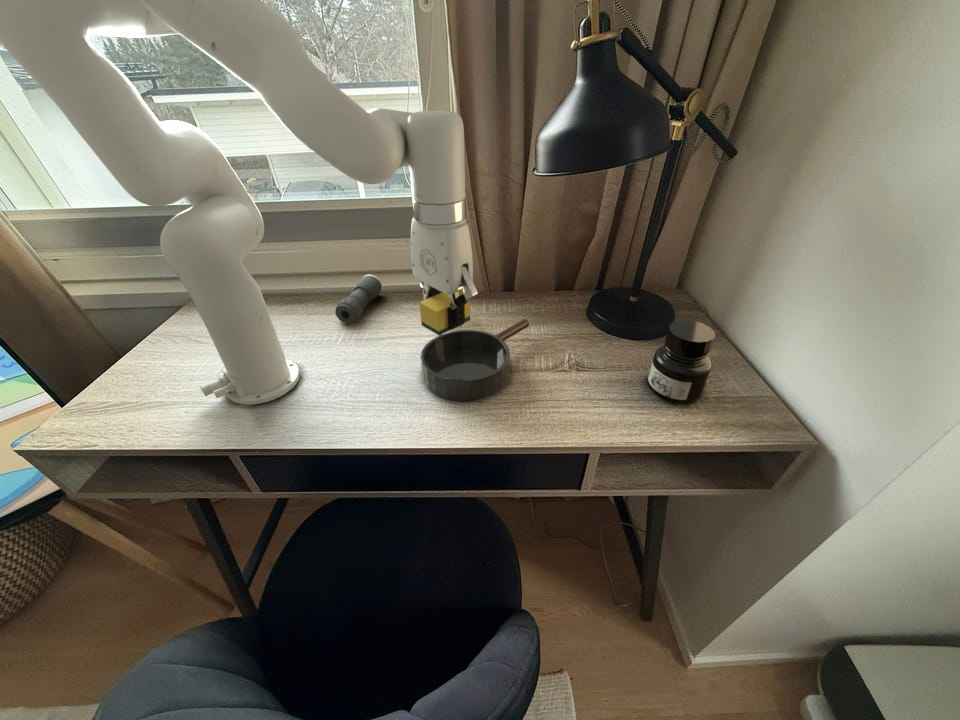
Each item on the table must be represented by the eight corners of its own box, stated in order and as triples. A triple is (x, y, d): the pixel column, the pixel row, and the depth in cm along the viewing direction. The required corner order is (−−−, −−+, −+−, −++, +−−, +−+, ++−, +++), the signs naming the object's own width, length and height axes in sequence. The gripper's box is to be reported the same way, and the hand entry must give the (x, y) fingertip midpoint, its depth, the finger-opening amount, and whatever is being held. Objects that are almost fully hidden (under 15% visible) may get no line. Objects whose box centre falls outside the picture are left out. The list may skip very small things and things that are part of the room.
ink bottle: (635, 379, 77) (648, 322, 70) (673, 367, 79) (690, 311, 72) (673, 412, 69) (693, 352, 62) (714, 398, 72) (738, 339, 65)
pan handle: (498, 346, 82) (498, 338, 81) (492, 342, 83) (492, 335, 82) (529, 328, 87) (529, 320, 86) (522, 325, 88) (522, 317, 87)
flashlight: (358, 326, 94) (353, 305, 91) (335, 324, 95) (330, 303, 92) (383, 294, 106) (380, 275, 103) (363, 293, 107) (359, 273, 104)
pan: (464, 414, 70) (462, 394, 68) (405, 373, 80) (402, 354, 77) (527, 371, 79) (528, 352, 77) (467, 339, 89) (466, 321, 86)
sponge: (439, 335, 68) (437, 312, 66) (421, 325, 71) (419, 302, 68) (470, 319, 72) (469, 296, 70) (452, 310, 75) (451, 288, 72)
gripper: (384, 204, 63) (398, 310, 74) (460, 230, 54) (464, 349, 64) (423, 194, 68) (431, 296, 78) (500, 217, 58) (497, 330, 69)
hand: (446, 319), depth 71 cm, fingers closed on sponge, 4 cm apart
